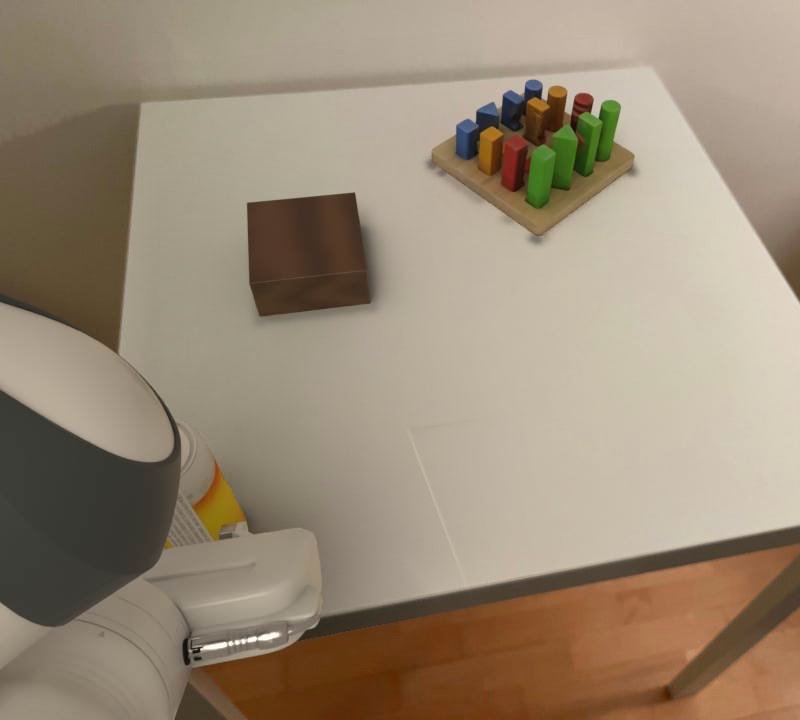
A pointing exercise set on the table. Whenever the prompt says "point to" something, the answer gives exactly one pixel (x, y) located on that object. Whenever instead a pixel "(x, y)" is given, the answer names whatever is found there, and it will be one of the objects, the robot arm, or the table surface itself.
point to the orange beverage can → (200, 494)
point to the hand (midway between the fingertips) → (158, 546)
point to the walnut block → (306, 254)
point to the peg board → (537, 154)
